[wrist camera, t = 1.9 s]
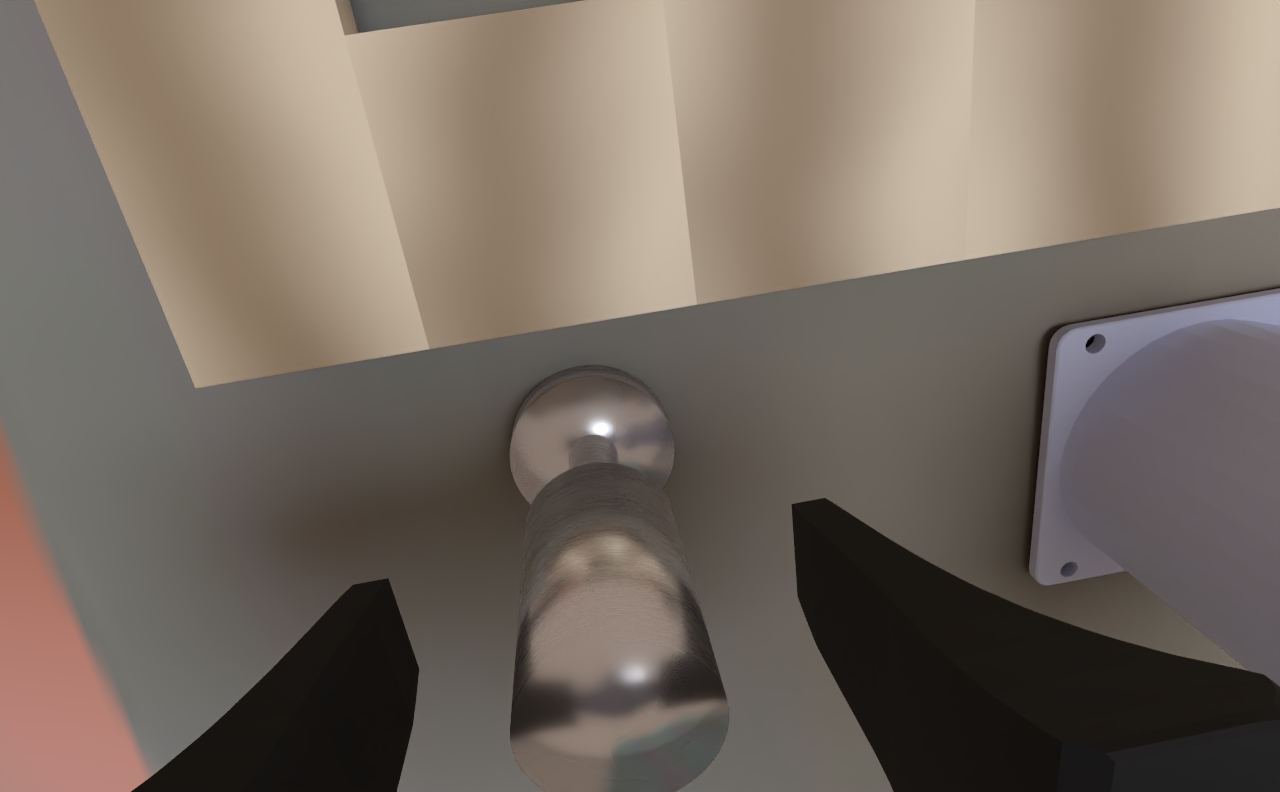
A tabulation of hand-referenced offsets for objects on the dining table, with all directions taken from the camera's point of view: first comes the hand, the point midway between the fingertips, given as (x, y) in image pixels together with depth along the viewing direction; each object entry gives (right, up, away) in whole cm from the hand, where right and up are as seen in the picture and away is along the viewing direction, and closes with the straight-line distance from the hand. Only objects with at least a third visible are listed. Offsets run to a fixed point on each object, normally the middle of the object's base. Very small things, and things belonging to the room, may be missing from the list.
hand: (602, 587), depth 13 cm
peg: (-1, +2, +6) cm, 6 cm away
